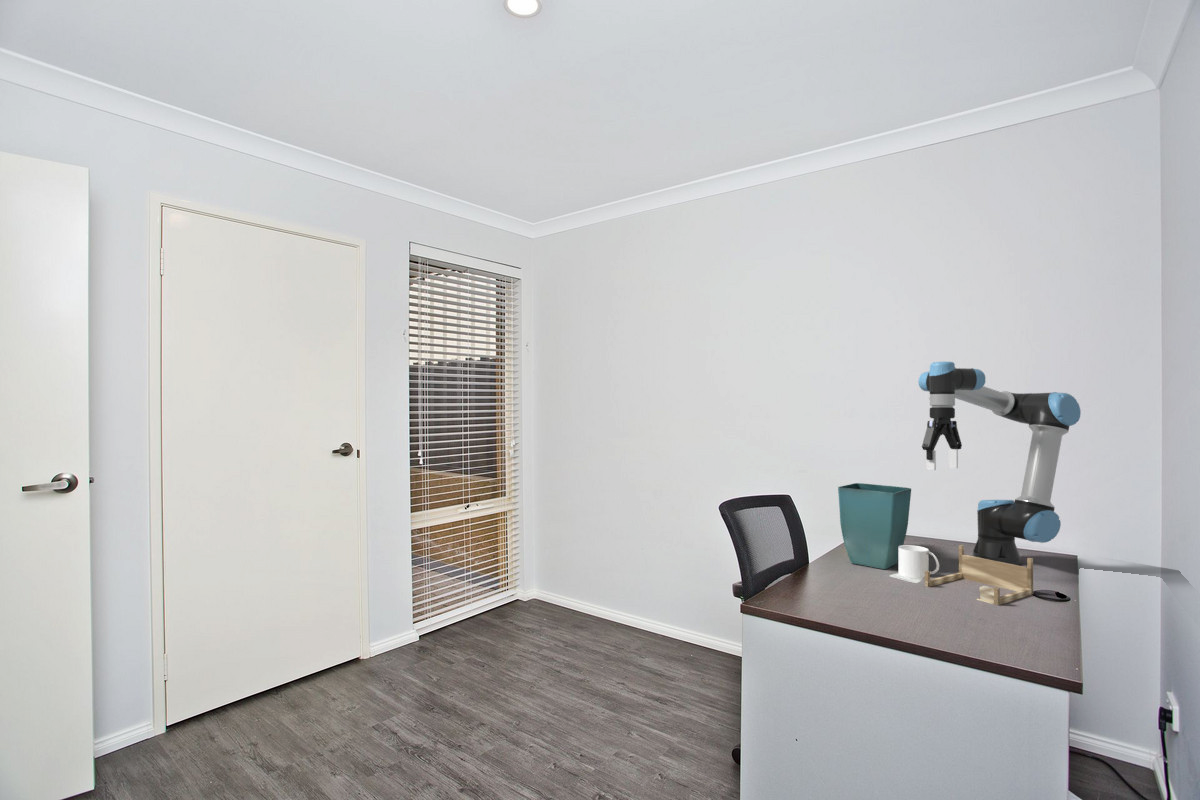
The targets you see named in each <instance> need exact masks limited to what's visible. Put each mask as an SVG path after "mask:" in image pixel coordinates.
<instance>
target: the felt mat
mask: <svg viewBox="0 0 1200 800" xmlns="http://www.w3.org/2000/svg"><path fill="white" fill-rule="evenodd" d="M889 577H890V578H893V579H898V580H901V581H904V582H909V583H913V584H918V583H920V582H921V581H922V580H923V579H911V578H906V577H903V576H900V575H899V573H898V572H896V573H892V574H890V575H889Z"/></svg>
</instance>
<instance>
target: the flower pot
mask: <svg viewBox="0 0 1200 800" xmlns="http://www.w3.org/2000/svg"><path fill="white" fill-rule="evenodd" d="M837 491H838V506H839V522H840V523H839V524H840V529H841V534H842V539H843V544H844V547H845V550H846V552H847V556H848V559H849V561H850V563H851V564H854V565H859V566H865V567H870V568H874V569H875V568H877V569H879V570H880V569H881V570H887V569H890V568H892V567H893V566H894V565H896V564H898V546H901V545H905V544H904V543H905V540H906V537H907V532H908V525H909V517H910V516H909V515H910V506H911V496H912V488H910V487H903V486H896V485H895V486H894V485H883V484H873V483H861V482H856V483H850V484H846V485H841V486H838V487H837Z"/></svg>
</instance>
